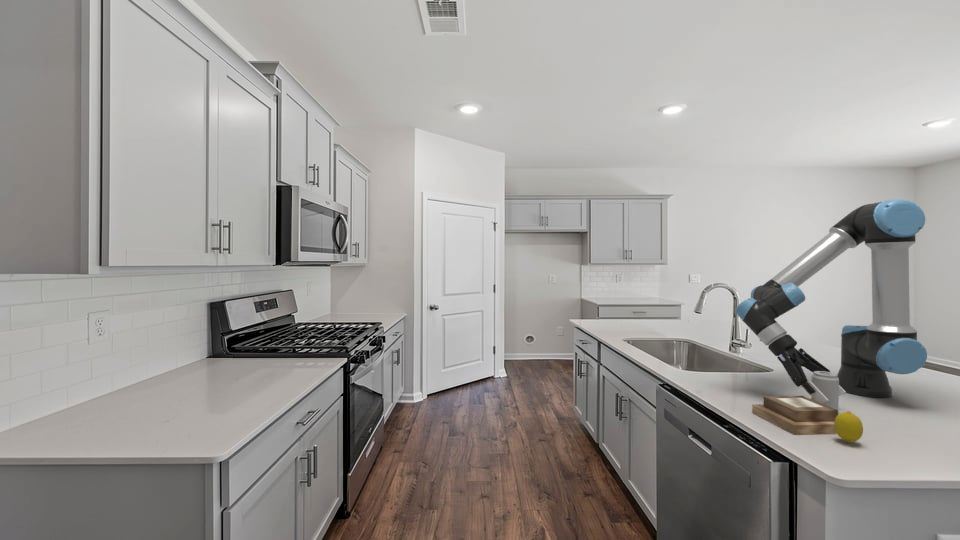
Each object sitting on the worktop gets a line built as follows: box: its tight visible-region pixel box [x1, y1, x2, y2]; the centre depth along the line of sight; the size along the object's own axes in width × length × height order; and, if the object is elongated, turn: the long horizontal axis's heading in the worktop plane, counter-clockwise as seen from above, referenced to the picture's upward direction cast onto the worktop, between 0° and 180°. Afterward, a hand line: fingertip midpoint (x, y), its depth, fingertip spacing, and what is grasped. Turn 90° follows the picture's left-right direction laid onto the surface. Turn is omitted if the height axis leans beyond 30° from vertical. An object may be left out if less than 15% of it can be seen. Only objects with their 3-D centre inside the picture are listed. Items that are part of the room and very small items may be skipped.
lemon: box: [834, 411, 864, 444], centre depth 108 cm, size 6×6×8 cm
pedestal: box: [751, 395, 839, 435], centre depth 122 cm, size 16×16×6 cm
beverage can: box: [810, 371, 840, 411], centre depth 129 cm, size 6×6×12 cm
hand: (833, 398), depth 128 cm, fingers open, 13 cm apart
